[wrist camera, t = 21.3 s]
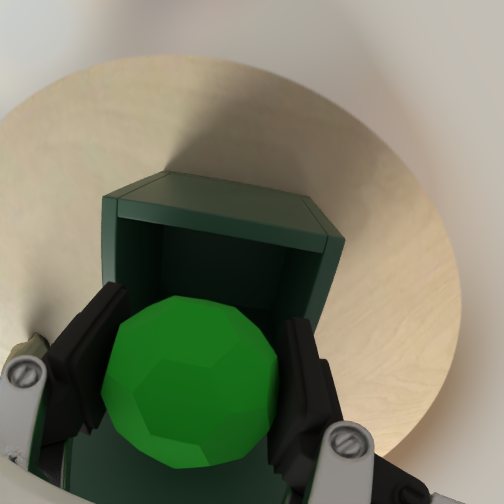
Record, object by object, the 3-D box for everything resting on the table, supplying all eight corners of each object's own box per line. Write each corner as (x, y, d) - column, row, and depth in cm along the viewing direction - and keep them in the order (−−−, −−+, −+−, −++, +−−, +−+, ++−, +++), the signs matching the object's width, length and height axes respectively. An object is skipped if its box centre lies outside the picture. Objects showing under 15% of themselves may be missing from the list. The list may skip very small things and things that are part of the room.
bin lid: (29, 517, 4) (74, 547, 5) (310, 576, 4) (269, 585, 6) (106, 366, 12) (117, 428, 14) (290, 401, 13) (265, 456, 14)
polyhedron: (236, 243, 9) (216, 356, 4) (297, 360, 10) (313, 476, 6) (108, 300, 9) (38, 396, 5) (181, 393, 11) (157, 492, 7)
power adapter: (72, 376, 24) (39, 433, 16) (41, 373, 24) (8, 421, 17) (46, 331, 22) (2, 386, 14) (16, 331, 22) (-25, 378, 15)
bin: (162, 170, 17) (101, 195, 10) (309, 196, 17) (346, 239, 10) (153, 292, 20) (110, 366, 13) (278, 315, 20) (287, 399, 13)
